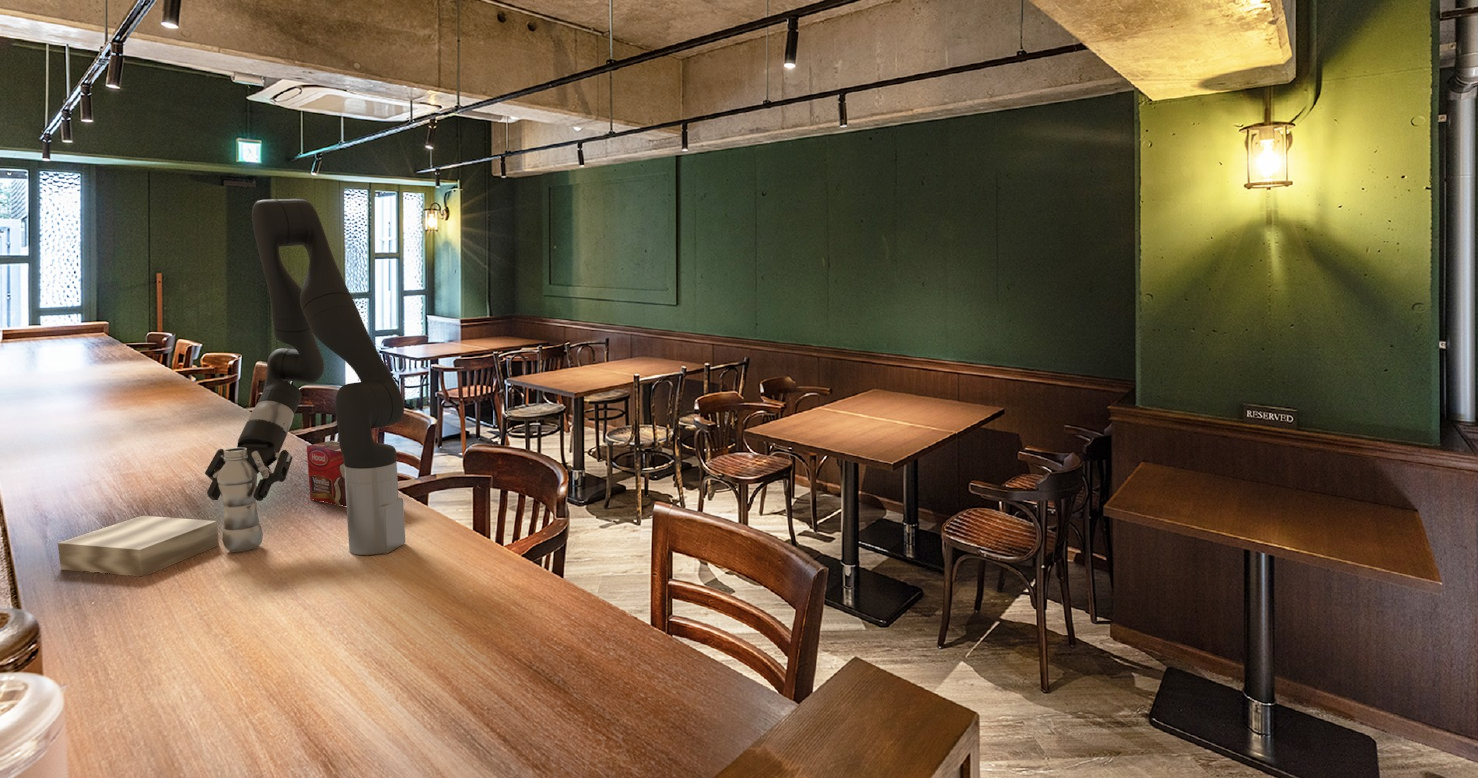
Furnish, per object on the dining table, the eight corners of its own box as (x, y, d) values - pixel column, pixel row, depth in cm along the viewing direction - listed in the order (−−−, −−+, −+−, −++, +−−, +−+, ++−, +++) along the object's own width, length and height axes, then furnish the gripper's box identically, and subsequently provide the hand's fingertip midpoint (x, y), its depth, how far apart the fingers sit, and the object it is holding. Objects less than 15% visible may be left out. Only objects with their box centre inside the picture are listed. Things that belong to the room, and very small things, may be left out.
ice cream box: (391, 504, 174) (389, 449, 172) (368, 512, 168) (365, 455, 166) (334, 493, 182) (331, 440, 180) (310, 500, 177) (306, 445, 175)
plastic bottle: (244, 556, 140) (236, 454, 137) (214, 553, 141) (205, 452, 139) (272, 545, 146) (264, 447, 143) (243, 542, 148) (235, 445, 145)
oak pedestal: (218, 545, 146) (216, 521, 145) (142, 576, 130) (139, 549, 129) (144, 539, 148) (142, 515, 148) (60, 569, 133) (57, 543, 132)
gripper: (222, 417, 148) (185, 488, 138) (294, 418, 148) (262, 489, 138) (241, 437, 154) (208, 507, 144) (310, 438, 154) (281, 508, 144)
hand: (234, 498), depth 141 cm, fingers open, 8 cm apart
